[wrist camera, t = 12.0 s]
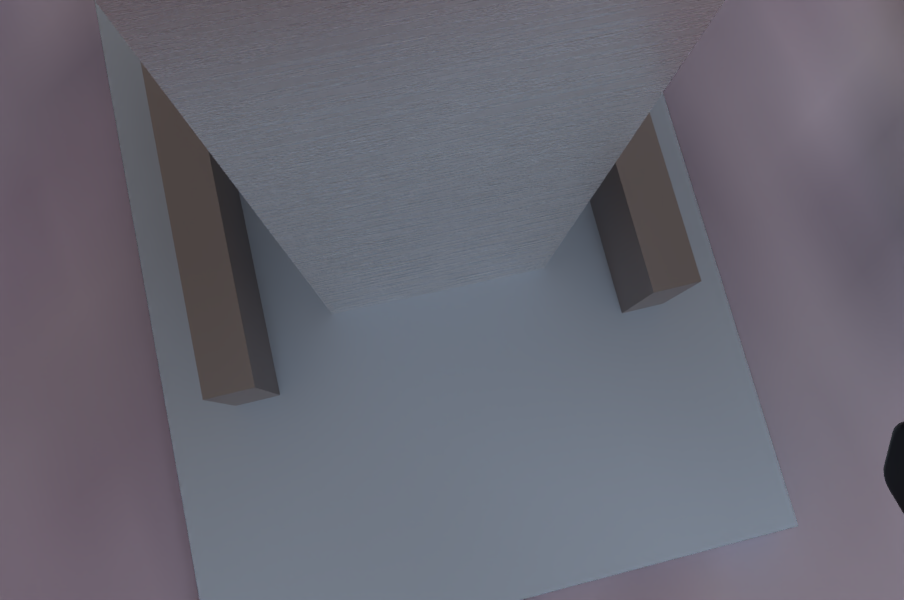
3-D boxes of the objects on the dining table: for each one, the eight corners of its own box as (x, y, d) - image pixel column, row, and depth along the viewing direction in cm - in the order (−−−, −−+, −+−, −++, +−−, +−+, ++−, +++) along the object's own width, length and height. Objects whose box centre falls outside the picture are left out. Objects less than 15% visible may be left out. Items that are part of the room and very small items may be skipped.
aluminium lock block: (543, 268, 18) (938, -313, 4) (332, 314, 17) (-24, -155, 4) (494, 73, 18) (680, -951, 5) (291, 113, 18) (-117, -871, 5)
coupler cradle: (777, 521, 18) (862, 541, 14) (226, 667, 17) (173, 726, 13) (594, -75, 20) (627, -179, 17) (110, 22, 19) (42, -69, 16)
